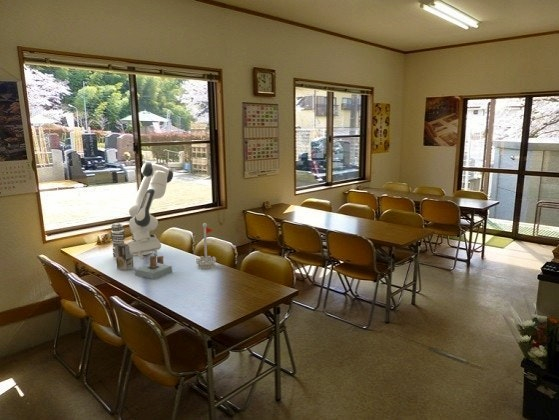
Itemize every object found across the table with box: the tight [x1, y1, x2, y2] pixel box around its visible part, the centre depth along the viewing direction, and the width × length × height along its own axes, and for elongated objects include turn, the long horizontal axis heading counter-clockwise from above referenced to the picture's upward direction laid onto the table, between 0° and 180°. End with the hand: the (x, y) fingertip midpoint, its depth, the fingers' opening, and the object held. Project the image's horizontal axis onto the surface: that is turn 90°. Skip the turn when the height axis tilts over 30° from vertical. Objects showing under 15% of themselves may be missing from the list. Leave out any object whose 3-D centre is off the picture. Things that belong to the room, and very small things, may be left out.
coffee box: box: [115, 242, 134, 271], centre depth 268 cm, size 9×6×16 cm
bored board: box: [134, 262, 173, 280], centre depth 259 cm, size 16×16×4 cm
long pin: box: [149, 255, 157, 269], centre depth 258 cm, size 4×4×11 cm
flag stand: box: [195, 222, 217, 270], centre depth 270 cm, size 13×13×30 cm
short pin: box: [156, 255, 164, 264], centre depth 273 cm, size 4×4×6 cm
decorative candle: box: [110, 222, 126, 260], centre depth 290 cm, size 9×9×25 cm
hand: (149, 257), depth 259 cm, fingers open, 8 cm apart
